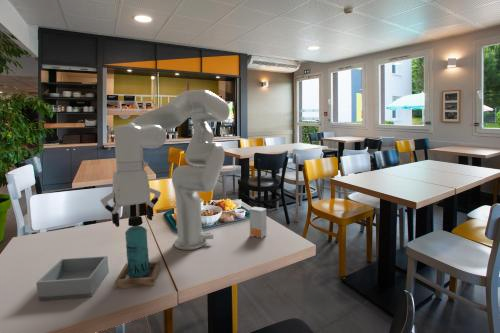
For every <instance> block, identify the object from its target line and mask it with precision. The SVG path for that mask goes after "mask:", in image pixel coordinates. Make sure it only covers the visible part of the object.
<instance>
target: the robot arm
mask: <svg viewBox="0 0 500 333" xmlns="http://www.w3.org/2000/svg"><path fill="white" fill-rule="evenodd" d="M229 116H230V106H229V105H228V103H227V102H226V100H224V99H222V98H221V97H220V96H218V95H217V94H215V93H213V92H212V91H211V90H207V89H196V90H195V89H194V90H185V91H183V92H181V93H180V94H178V95H177V96H176V97H173V98H172V100H170V101H169V102H167V103H166V104H164V105H162V106H160V107H157V108H155V109H152V110H150V111H147V112H145V113H142V114H139V115H138V116H137V117H134V118H133V119H132V120H131V121H129V122H128V123H127V124H120V125H116V126H115V127H114V129H113V131H114V132H113V134H114V135H113V136H114V150H115V151H114V152H115V163H116V164H115V165H116V171H114V172H113V176H112V192H110V193H109V194H107V195H106V196H104V197H103V198H101V199H100V203H101V204H102V205H103V207H104V209H106V210H107V211H108V212H110V213H111V220H112V221H111V222H112V224H113V225H114V226H115V227H116V228H119V227H120V214H119V213H118V211H119V210H120V209H121V207H128V206H134V205H141V204H146V207H145V209H146V219H148V220H149V221H153V217H154V208H155V205H156V204H157V203H158V202H159V198H160V197H161V194H162V192H161V191H159V190H156V189H154V188H151V187H150V182H149V177H148V173H147V170H146V169H145V167H148V166H149V161H145V160H144V149H157V148H160V147H162V146H163V145H164V144H165V143H166V141H167V132H166V130H170V129H173V128H176V127H177V128H178V127H179V126H181V125H182V124H183V123H185V122H186V121H187V120H188V119H189V118H191V122H192V125H193V132H192V136H191V139H190V140H189V144H188V146H187V148H186V151H185V153H184V154H185V155H184V160H185V162H186V163H187V164H188V165H186V164H185V165H180V166H177V167H175V169H173V171H172V173H171V182H172V187H173V190H174V195H175V209H176V226H177V227H176V228H177V238H176V239H174V242H173V244H174V247H175V248H176V249H179V250H182V251H183V250H184V251H190V250H191V251H192V250H196V249H199V248H201V247H204V246H205V245H206V244H207V240H214V234H212V233H211V232H204V228H203V227H202V226H203V224H202V222H203V221H202V201H201V196H200V194H199V193H209V192H212V191H213V190H214V189H215V188H216V185H217V183H218V180H219V177H220V174H221V171H222V168H223V166H224V162H225V155H226V154H225V149H224V147H223V146H222V145H221V144H220V143H218V142H217V143H216V142H213V140H214V132H213V130H212V127H211V126H210V125H209V123H215V122H216V123H217V122H218V123H222V122H225V121H227V120H228V118H229ZM208 122H209V123H208ZM151 194H153V195H154V196H153V198H152V199H151ZM110 200H112V202H113V205H112V206H111V205H110V204H109V203H108V202H109V201H110Z"/></svg>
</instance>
